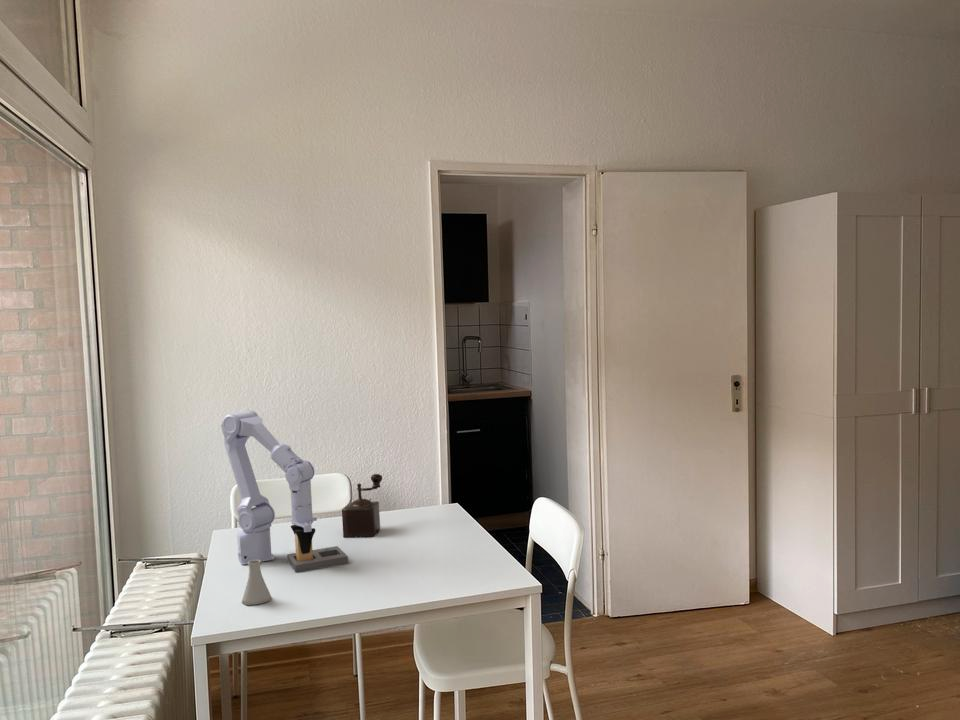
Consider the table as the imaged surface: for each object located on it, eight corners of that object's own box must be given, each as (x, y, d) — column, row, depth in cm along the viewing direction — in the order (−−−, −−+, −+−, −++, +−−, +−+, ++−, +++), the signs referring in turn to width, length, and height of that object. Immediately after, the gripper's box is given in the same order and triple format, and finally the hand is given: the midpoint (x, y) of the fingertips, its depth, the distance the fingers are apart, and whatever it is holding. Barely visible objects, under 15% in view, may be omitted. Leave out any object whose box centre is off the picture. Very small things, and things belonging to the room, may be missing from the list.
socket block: (295, 572, 210) (295, 564, 210) (287, 561, 221) (286, 553, 221) (348, 563, 217) (347, 555, 216) (337, 552, 227) (337, 545, 227)
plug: (299, 564, 215) (297, 533, 214) (296, 560, 218) (294, 530, 218) (313, 561, 216) (311, 531, 216) (310, 558, 220) (308, 528, 220)
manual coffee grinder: (376, 537, 242) (373, 482, 242) (342, 538, 243) (339, 482, 243) (386, 524, 258) (383, 472, 257) (354, 525, 259) (351, 473, 258)
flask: (243, 608, 185) (240, 567, 184) (240, 598, 191) (237, 560, 191) (273, 602, 188) (271, 562, 187) (269, 593, 194) (267, 555, 194)
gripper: (321, 507, 212) (323, 555, 212) (310, 497, 225) (312, 542, 225) (295, 511, 209) (298, 559, 209) (286, 501, 222) (288, 546, 223)
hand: (304, 551), depth 217 cm, fingers closed on plug, 4 cm apart
